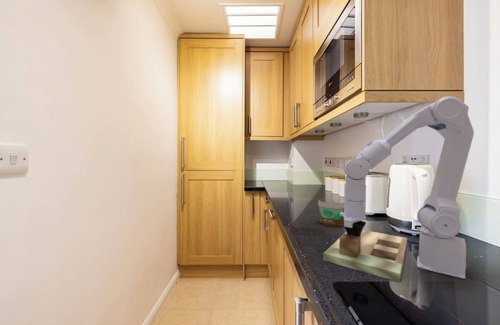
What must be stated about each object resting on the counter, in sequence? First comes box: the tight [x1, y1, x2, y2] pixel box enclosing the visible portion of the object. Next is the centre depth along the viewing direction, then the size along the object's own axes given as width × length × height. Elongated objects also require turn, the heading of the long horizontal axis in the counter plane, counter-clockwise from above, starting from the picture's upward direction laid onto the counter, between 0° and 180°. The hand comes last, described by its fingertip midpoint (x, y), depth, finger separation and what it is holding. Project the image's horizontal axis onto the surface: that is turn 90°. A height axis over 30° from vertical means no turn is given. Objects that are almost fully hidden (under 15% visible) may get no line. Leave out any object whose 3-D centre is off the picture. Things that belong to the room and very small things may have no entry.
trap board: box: [322, 229, 408, 283], centre depth 71 cm, size 18×30×2 cm, turn 143°
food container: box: [317, 199, 344, 228], centre depth 98 cm, size 12×6×10 cm, turn 62°
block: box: [339, 233, 361, 258], centre depth 65 cm, size 4×4×4 cm
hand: (353, 245), depth 68 cm, fingers closed
